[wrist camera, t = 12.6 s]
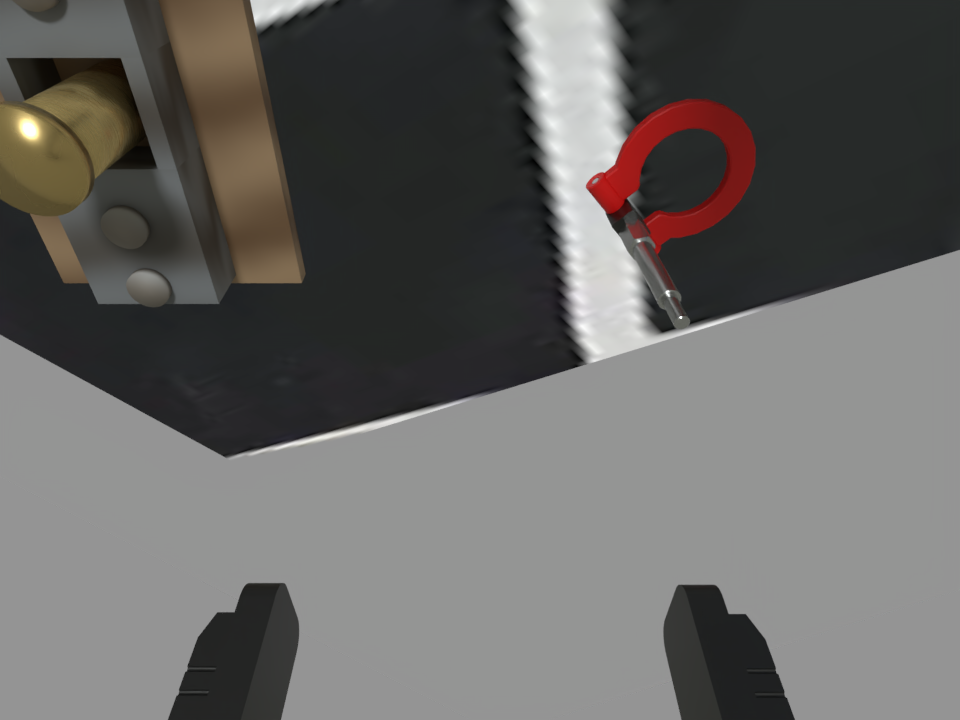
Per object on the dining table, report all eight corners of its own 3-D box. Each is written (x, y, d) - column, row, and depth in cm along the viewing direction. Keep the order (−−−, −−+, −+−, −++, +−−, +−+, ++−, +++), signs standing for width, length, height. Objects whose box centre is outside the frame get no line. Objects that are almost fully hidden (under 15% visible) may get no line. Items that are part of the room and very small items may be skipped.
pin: (65, 50, 33) (-61, 106, 25) (156, 50, 33) (57, 106, 25) (100, 141, 36) (-3, 216, 28) (183, 141, 36) (102, 216, 28)
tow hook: (706, 63, 35) (573, 172, 38) (814, 136, 24) (619, 276, 28) (772, 172, 39) (646, 262, 42) (889, 274, 28) (709, 381, 32)
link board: (-148, -193, 28) (-258, -203, 24) (210, -193, 28) (163, -204, 24) (73, 274, 43) (29, 318, 38) (305, 273, 43) (287, 318, 38)
